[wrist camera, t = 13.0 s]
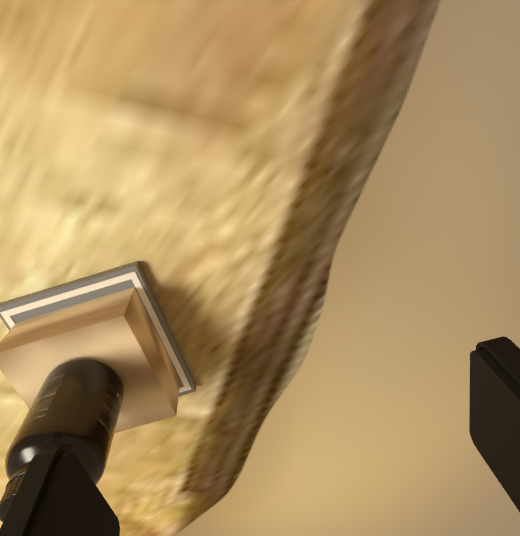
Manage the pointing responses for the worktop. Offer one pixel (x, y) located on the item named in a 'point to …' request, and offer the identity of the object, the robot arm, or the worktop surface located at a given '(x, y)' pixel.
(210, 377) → the worktop surface
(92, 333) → the oak plinth
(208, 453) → the worktop surface
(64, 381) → the supplement bottle
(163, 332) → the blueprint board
